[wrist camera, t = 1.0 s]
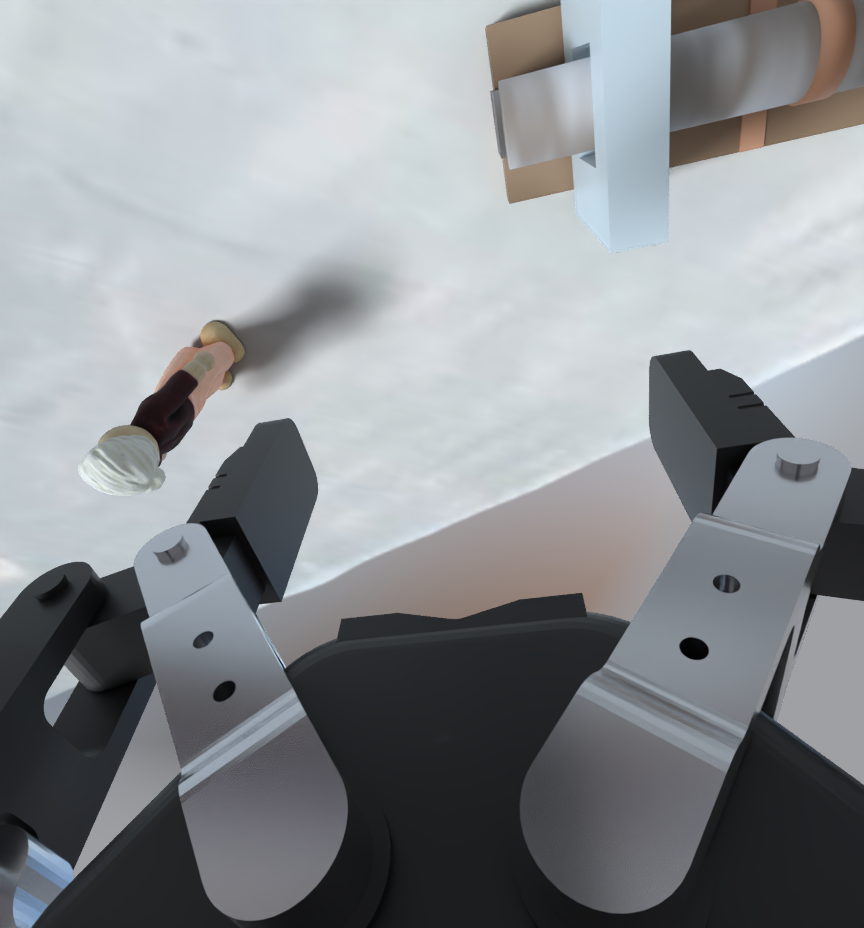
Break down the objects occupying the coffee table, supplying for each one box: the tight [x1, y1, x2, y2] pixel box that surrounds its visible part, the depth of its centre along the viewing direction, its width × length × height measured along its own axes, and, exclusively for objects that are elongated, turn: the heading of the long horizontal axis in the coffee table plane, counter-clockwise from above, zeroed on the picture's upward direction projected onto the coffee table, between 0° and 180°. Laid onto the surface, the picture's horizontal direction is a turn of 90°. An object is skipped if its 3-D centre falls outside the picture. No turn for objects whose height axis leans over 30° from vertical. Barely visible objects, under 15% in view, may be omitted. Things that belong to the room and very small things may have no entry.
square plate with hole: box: [560, 0, 671, 254], centre depth 21 cm, size 9×2×8 cm, turn 12°
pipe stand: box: [485, 0, 864, 204], centre depth 22 cm, size 7×16×8 cm, turn 102°
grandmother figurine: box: [78, 321, 245, 496], centre depth 29 cm, size 8×4×13 cm, turn 156°
